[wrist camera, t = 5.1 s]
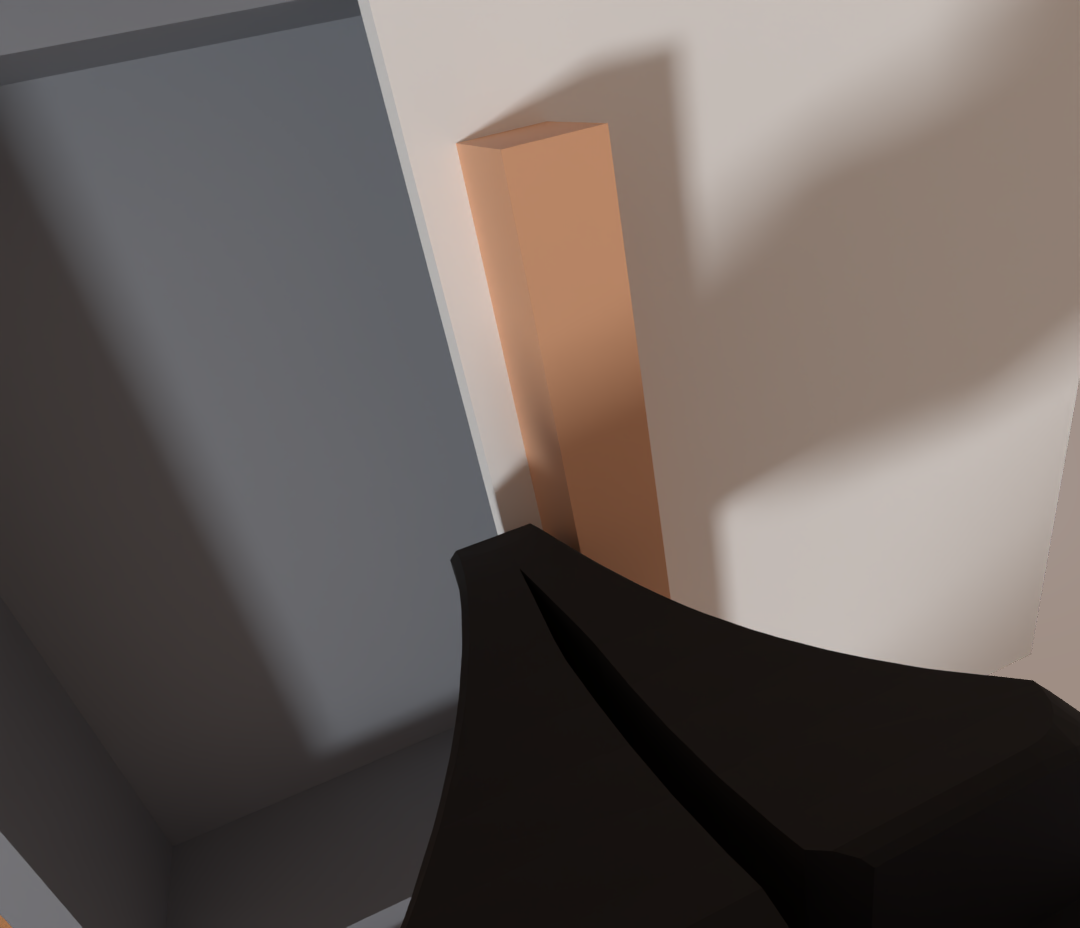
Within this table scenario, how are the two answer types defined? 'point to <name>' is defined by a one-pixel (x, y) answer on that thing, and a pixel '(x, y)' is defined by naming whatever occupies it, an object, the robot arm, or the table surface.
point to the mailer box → (218, 474)
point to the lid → (762, 295)
